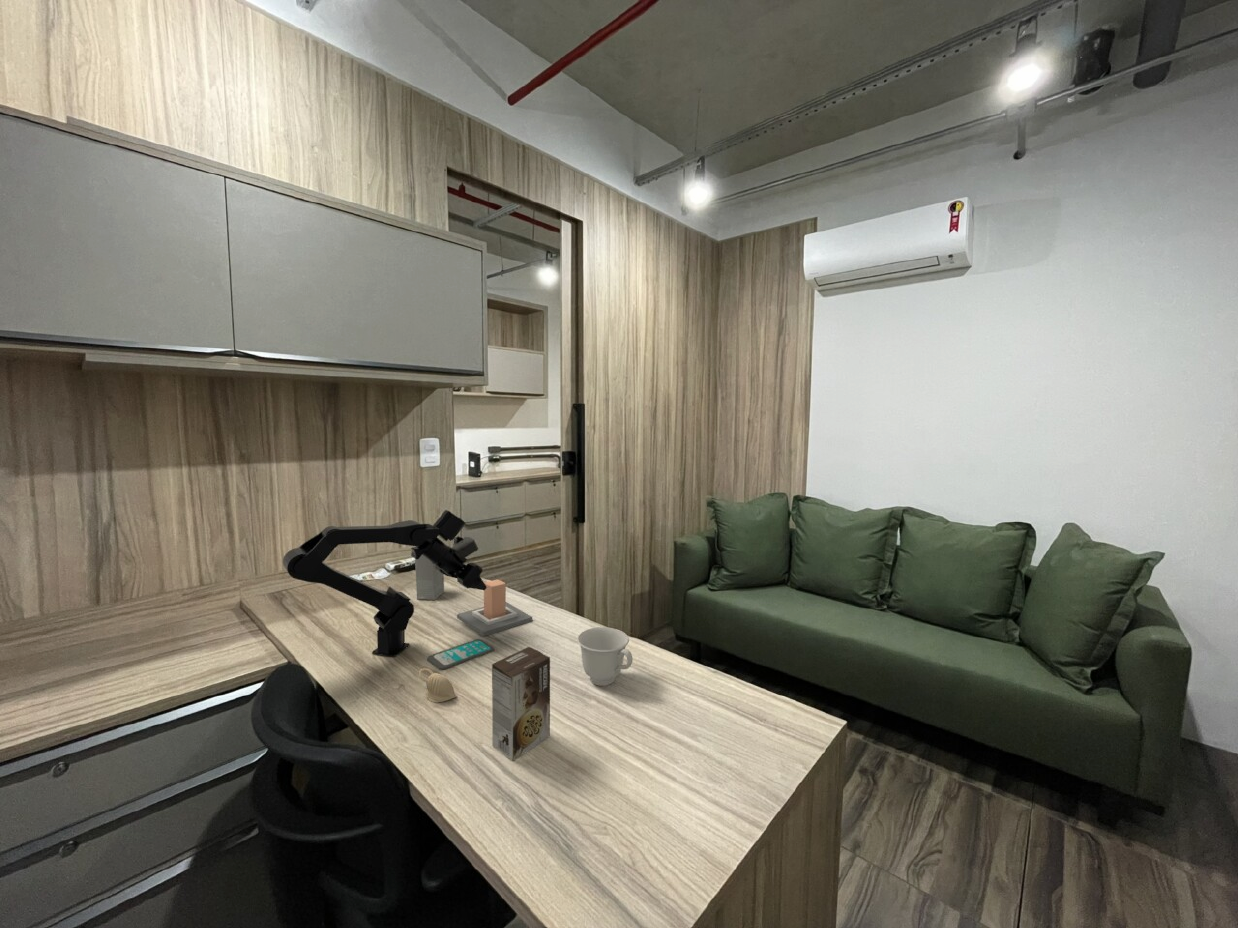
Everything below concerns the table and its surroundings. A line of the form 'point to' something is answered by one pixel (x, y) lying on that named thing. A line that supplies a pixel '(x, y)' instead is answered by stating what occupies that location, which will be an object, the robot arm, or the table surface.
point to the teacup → (604, 653)
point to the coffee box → (520, 702)
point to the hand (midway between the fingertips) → (477, 584)
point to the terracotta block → (495, 599)
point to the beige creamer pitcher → (438, 687)
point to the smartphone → (460, 654)
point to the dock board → (493, 620)
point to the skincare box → (428, 579)
